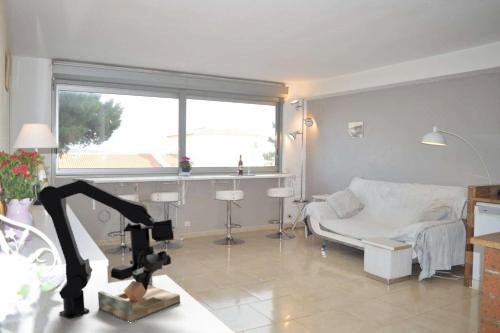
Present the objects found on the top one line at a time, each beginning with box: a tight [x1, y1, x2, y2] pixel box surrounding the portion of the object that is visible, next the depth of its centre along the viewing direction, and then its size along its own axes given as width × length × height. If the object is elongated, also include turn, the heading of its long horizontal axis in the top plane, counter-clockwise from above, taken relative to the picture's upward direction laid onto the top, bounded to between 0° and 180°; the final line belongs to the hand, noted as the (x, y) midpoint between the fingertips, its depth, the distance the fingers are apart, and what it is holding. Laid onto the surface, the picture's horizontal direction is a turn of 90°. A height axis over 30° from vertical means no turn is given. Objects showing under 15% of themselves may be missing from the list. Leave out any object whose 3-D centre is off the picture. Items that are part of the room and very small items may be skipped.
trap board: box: [97, 284, 181, 323], centre depth 123 cm, size 17×18×5 cm
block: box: [123, 280, 147, 302], centre depth 121 cm, size 4×4×4 cm
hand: (144, 292), depth 124 cm, fingers closed
